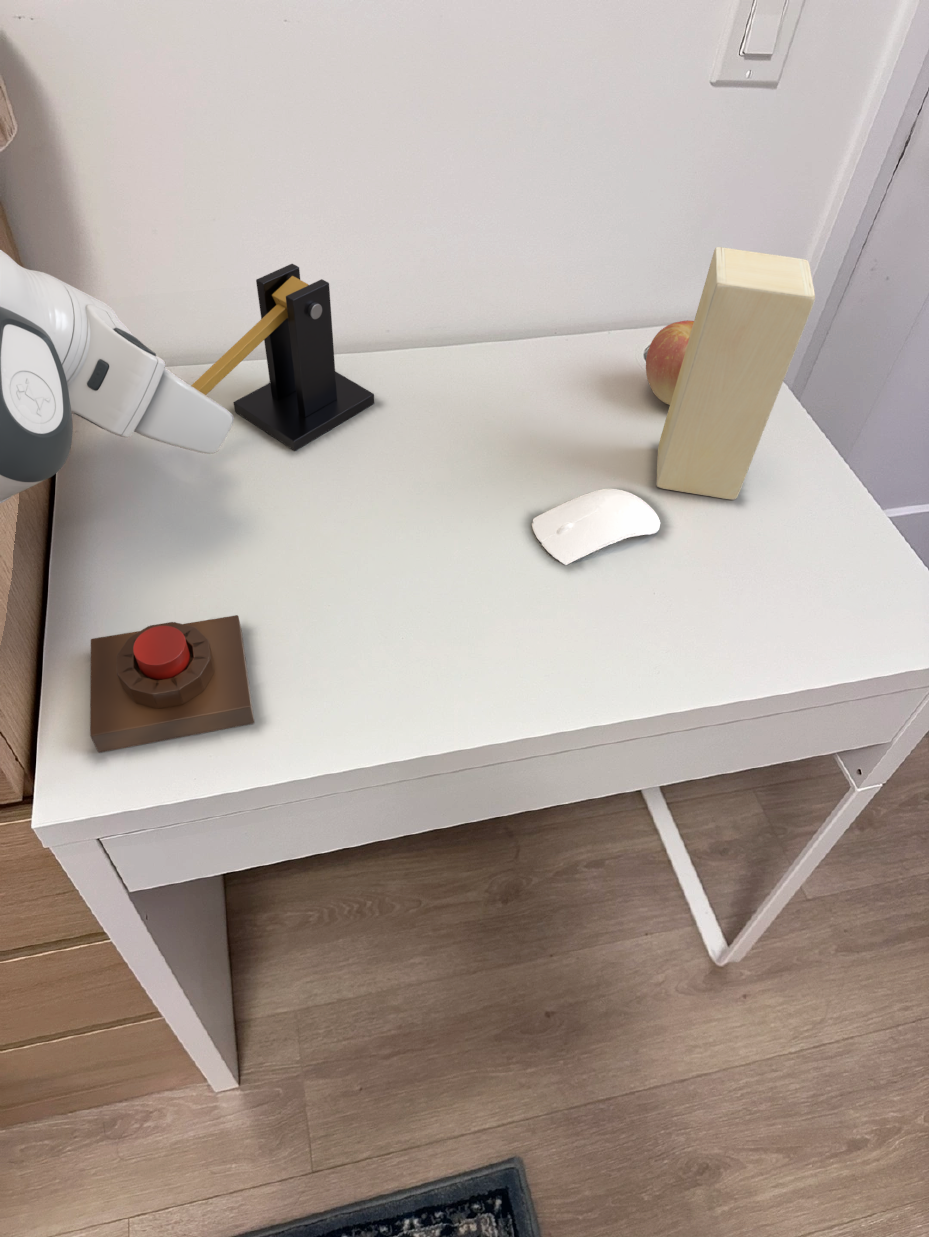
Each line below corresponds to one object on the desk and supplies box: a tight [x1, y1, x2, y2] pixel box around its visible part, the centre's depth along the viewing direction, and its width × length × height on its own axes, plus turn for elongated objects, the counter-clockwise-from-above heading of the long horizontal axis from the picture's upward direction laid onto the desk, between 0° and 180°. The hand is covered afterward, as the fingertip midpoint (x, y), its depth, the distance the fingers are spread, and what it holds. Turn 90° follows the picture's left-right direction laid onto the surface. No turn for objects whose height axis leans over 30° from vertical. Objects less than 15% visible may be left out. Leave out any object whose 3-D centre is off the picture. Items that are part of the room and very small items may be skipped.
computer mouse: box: [531, 488, 661, 566], centre depth 79 cm, size 7×12×2 cm, turn 115°
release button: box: [133, 626, 190, 680], centre depth 63 cm, size 4×4×2 cm
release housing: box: [89, 614, 255, 753], centre depth 65 cm, size 11×9×4 cm
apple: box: [645, 320, 694, 406], centre depth 92 cm, size 9×9×8 cm
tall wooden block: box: [656, 246, 816, 500], centre depth 78 cm, size 8×7×21 cm
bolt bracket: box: [233, 263, 375, 452], centre depth 85 cm, size 11×9×14 cm
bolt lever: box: [190, 276, 309, 396], centre depth 79 cm, size 16×5×2 cm, turn 139°
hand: (193, 404), depth 78 cm, fingers closed on bolt lever, 5 cm apart
